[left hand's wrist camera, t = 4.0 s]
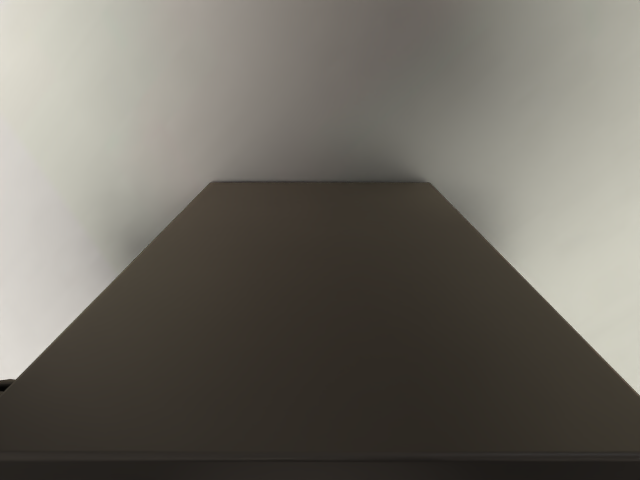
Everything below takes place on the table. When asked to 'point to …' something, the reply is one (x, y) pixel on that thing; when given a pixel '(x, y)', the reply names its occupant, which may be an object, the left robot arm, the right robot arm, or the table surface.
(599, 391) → the box
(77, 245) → the table surface
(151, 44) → the table surface
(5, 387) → the left robot arm
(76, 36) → the table surface
